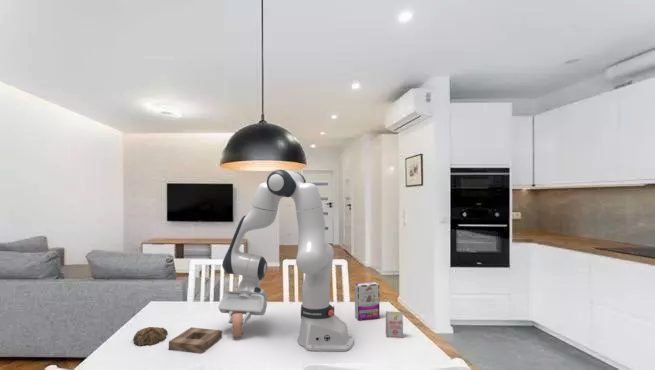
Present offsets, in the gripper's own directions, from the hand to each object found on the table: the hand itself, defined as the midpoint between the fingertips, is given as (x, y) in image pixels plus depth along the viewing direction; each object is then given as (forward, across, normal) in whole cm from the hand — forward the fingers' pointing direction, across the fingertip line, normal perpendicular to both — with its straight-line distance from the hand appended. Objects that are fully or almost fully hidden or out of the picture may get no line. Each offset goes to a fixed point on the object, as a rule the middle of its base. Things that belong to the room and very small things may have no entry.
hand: (236, 323), depth 136 cm
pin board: (+10, -14, -1) cm, 17 cm away
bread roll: (+10, -34, -1) cm, 35 cm away
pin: (+3, 0, +4) cm, 5 cm away
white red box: (-7, +62, +18) cm, 65 cm away
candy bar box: (-20, +49, +30) cm, 61 cm away
